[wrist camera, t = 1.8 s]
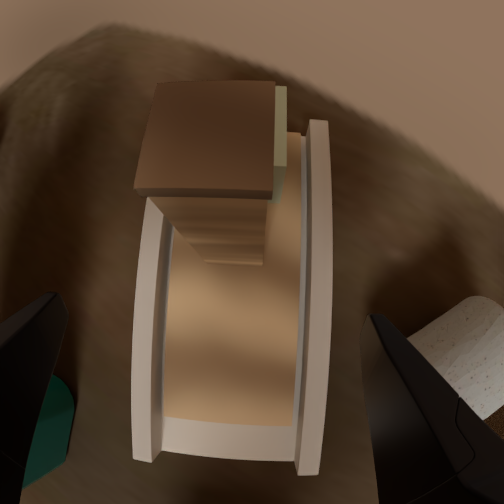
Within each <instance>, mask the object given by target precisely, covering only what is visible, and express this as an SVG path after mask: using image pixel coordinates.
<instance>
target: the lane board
mask: <svg viewBox="0 0 504 504" xmlns="http://www.w3.org/2000/svg"><path fill="white" fill-rule="evenodd" d="M174 229H175V227H174V226H173V225H172V224H171V223H170V221H169V220H168V219H167V218H166V217H165V216H164V215H163V213H162V212H161V211H160V210H159V209H158V208H157V206H156V205H155V204H154V203H153V202H152V201H151V200H150V198H149V197H147V201H146V208H145V215H144V222H143V229H142V237H141V245H140V253H139V262H138V272H137V283H136V294H135V307H134V322H133V341H132V373H131V415H132V446H133V459H136V460H141V461H145V462H150V463H152V462H153V460H154V459H155V458H156V457H157V455H158V454H159V453H160V452H161V450H163V451H169V452H176V453H182V454H189V455H197V456H206V457H215V458H226V459H239V460H259V461H294V463H295V467H296V471H297V474H298V475H318V472H319V464H320V456H321V448H322V440H323V430H324V421H325V410H326V399H327V387H328V374H329V358H330V340H331V317H332V278H333V226H332V187H331V164H330V146H329V131H328V121H323V120H312V119H310V121H309V125H308V129H307V133H306V136H301V260H300V294H299V319H298V340H297V359H296V375H295V390H294V404H293V417H292V426H260V425H241V424H227V423H215V422H205V421H196V420H188V419H180V418H173V417H166V416H164V364H165V340H166V322H167V306H168V292H169V280H170V268H171V257H172V247H173V238H174Z"/></svg>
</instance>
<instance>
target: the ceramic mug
mask: <svg viewBox="0 0 504 504" xmlns="http://www.w3.org/2000/svg"><path fill="white" fill-rule="evenodd" d="M407 339H408V340H409V341H410V342H411V344H412V345H413V346H414V347H415V348H416V349H417V350H418V351H419V352H420V353H421V354H422V355H423V356H424V357H425V358H426V359H427V360H428V361H429V363H430V364H431V365H432V366H433V367H434V368H435V369H436V370H437V371H438V372H439V373H440V374H441V375H442V377H443V378H444V379H445V380H446V381H447V382H448V383H449V384H450V385H451V386H452V388H453V389H454V390H455V391H456V392H457V393H458V394H459V397H462V398H463V400H464V401H465V402H466V403H467V404H468V405H469V406H470V407H471V408H472V409H473V411H474V412H475V413H476V414H477V415H478V416H479V417H480V418H481V419H482V420H484V419H486V418H487V417H489V416H490V415H491V414H492V413H494V412H495V411H496V410H498V409H499V408H500V407H501V406H503V405H504V308H502V307H501V306H500V305H499V304H498V303H496V302H495V301H493V300H491V299H489V298H487V297H483V296H472V297H468V298H466V299H464V300H463V301H462V302H460V303H459V304H457V305H456V306H455V307H453V308H452V309H450V310H449V311H448V312H446V313H445V314H443V315H442V316H440V317H438V318H437V319H435V320H434V321H432V322H431V323H429V324H428V325H427V326H425V327H424V328H422V329H421V330H419V331H418V332H416V333H415V334H413V335H411V336H410V337H408V338H407Z"/></svg>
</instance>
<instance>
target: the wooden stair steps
mask: <svg viewBox="0 0 504 504" xmlns="http://www.w3.org/2000/svg"><path fill="white" fill-rule="evenodd" d="M275 87H276V81H256V80H207V81H183V82H167V83H157V87H156V90H155V94H154V98H153V101H152V105H151V109H150V113H149V117H148V121H147V125H146V129H145V134H144V138H143V143H142V147H141V152H140V156H139V161H138V166H137V171H136V176H135V182H134V187H133V188H134V190H135V191H136V192H137V193H138V194H139V195H140V196H141V197H149V198H150V200H151V201H152V202H153V203H154V204H155V205H156V206H157V208H158V209H159V210H160V211H161V212H162V213H163V215H164V216H165V217H166V218H167V219H168V220H169V221H170V223H171V224H172V225H173V226H174V227H175V229H174V238H173V247H172V257H171V268H170V280H169V292H168V306H167V322H166V340H165V364H164V416H166V417H173V418H180V419H188V420H196V421H205V422H215V423H227V424H241V425H260V426H292V417H293V404H294V390H295V375H296V359H297V340H298V319H299V294H300V260H301V133H295V132H287V167H286V173H285V178H284V184H283V189H282V195H281V200H280V203H268V200H272V195H273V172H274V135H275Z"/></svg>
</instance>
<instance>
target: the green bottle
mask: <svg viewBox="0 0 504 504" xmlns="http://www.w3.org/2000/svg"><path fill="white" fill-rule="evenodd" d="M74 410H75V406H74V399H73V397H72V394H71V392H70V390H69V388H68V387H67V385H66V384H65V383H64V382H63V381H62V380H61V379H60V378H58V377H57V376H55V375H53V374H52V377H51V380H50V383H49V386H48V389H47V392H46V395H45V398H44V401H43V404H42V408H41V411H40V414H39V418H38V421H37V425H36V429H35V432H34V436H33V440H32V444H31V448H30V452H29V456H28V461H27V465H26V468H25V469H26V470H25V475H24V480H23V485H22V490H23V489H25V488H26V487H28V486H30V485H31V484H33V483H34V482H36V481H38V480H39V479H41V478H42V477H44V476H46V475H47V474H49V473H50V472H52V471H53V470H55V469H56V468H58V467H60V466H61V465H62V464H63V463H64V461H65V459H66V453H67V447H68V441H69V436H70V430H71V425H72V420H73V415H74Z"/></svg>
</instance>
